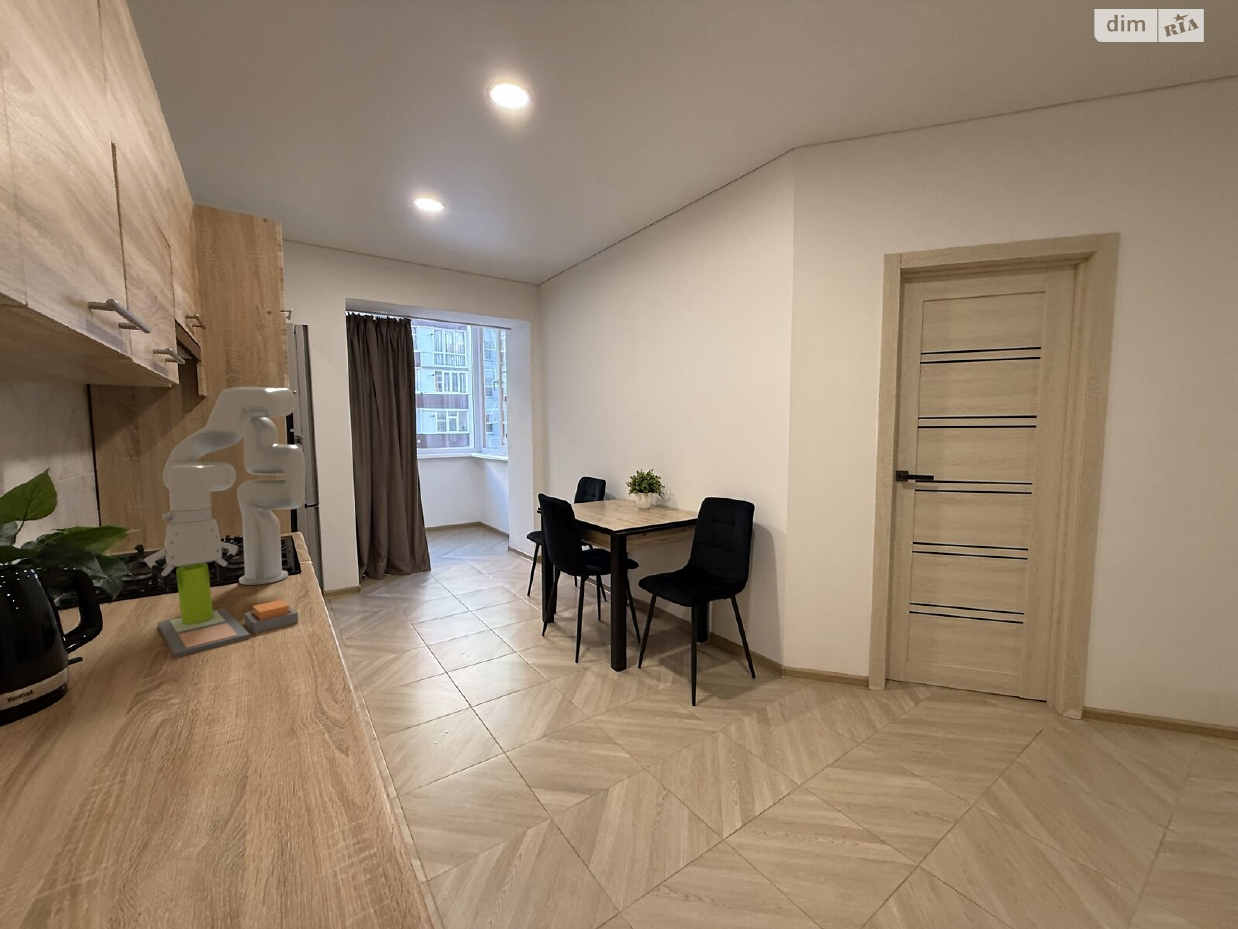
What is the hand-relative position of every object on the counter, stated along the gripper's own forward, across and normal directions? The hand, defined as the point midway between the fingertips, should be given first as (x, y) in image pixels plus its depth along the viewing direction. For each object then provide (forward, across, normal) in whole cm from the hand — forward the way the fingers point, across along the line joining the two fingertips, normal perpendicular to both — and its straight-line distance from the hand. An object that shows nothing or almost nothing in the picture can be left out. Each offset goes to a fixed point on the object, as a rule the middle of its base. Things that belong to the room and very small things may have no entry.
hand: (195, 586), depth 122 cm
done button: (+7, +12, -11) cm, 18 cm away
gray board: (+10, 0, -6) cm, 11 cm away
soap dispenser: (+9, 0, 0) cm, 9 cm away
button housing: (+10, +12, -11) cm, 19 cm away
